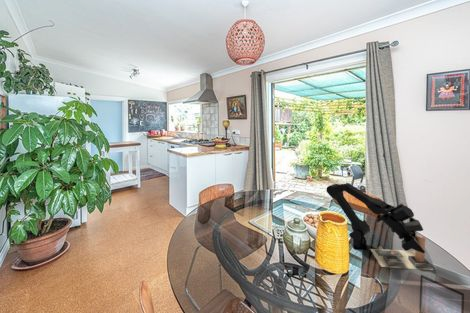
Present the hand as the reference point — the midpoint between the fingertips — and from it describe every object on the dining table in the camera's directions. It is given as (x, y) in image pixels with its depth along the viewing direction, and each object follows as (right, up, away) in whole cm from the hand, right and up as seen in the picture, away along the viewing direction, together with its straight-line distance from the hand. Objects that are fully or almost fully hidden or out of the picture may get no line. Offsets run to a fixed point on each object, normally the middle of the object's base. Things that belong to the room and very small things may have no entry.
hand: (423, 250), depth 97 cm
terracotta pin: (-1, -6, +2) cm, 6 cm away
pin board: (-6, -8, +7) cm, 12 cm away
